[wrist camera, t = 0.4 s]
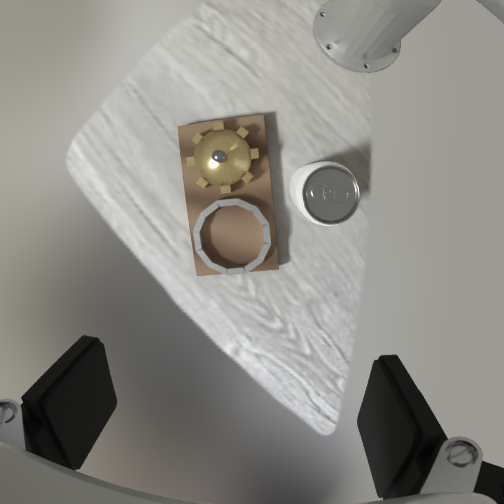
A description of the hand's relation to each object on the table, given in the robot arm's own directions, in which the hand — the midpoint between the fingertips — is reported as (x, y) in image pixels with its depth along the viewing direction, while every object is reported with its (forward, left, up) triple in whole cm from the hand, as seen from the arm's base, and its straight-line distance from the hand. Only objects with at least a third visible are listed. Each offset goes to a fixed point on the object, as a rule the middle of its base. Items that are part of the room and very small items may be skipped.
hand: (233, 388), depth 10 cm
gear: (-9, -4, -31) cm, 33 cm away
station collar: (+1, -4, -31) cm, 32 cm away
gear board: (-4, -4, -33) cm, 33 cm away
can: (-4, +7, -33) cm, 34 cm away
